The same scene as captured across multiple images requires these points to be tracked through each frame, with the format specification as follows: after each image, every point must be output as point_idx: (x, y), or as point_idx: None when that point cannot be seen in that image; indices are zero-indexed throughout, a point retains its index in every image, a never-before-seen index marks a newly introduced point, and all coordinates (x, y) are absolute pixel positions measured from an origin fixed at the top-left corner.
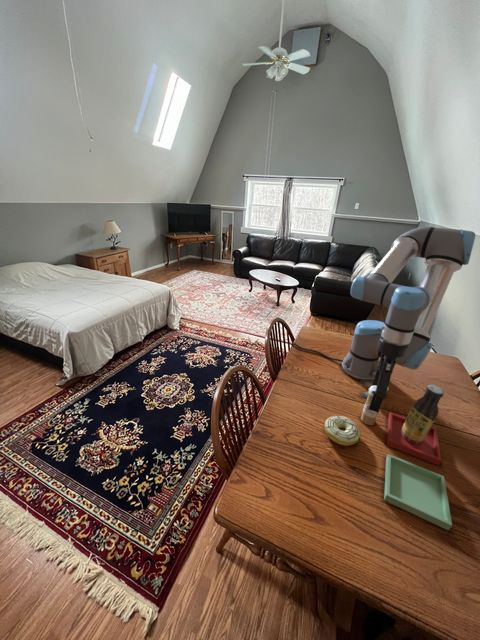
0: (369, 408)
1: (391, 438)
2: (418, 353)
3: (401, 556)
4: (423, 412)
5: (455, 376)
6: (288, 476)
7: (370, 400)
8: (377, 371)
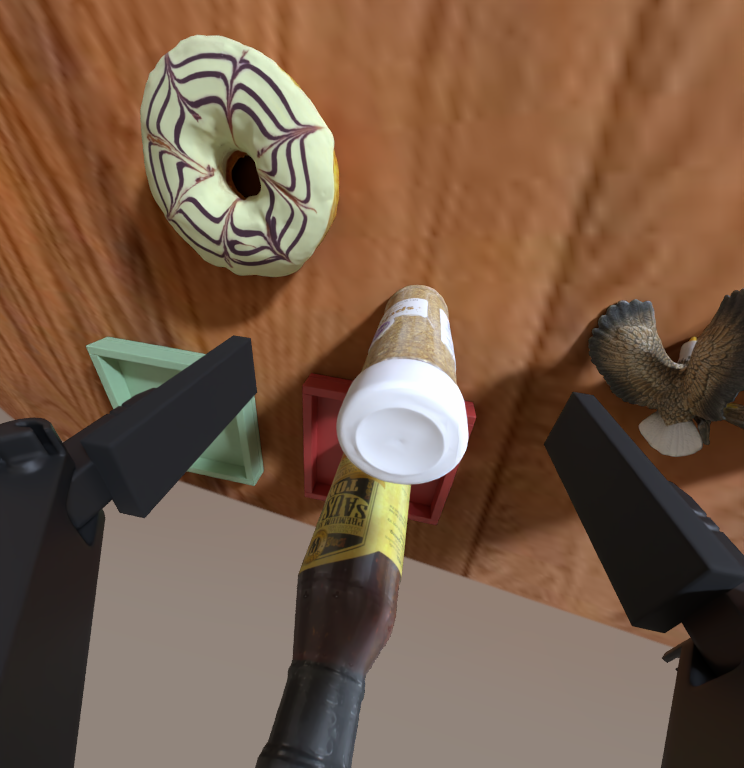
0: (228, 341)
1: (317, 395)
2: None
3: (22, 353)
4: (298, 588)
5: None
6: None
7: (372, 354)
8: (678, 541)
